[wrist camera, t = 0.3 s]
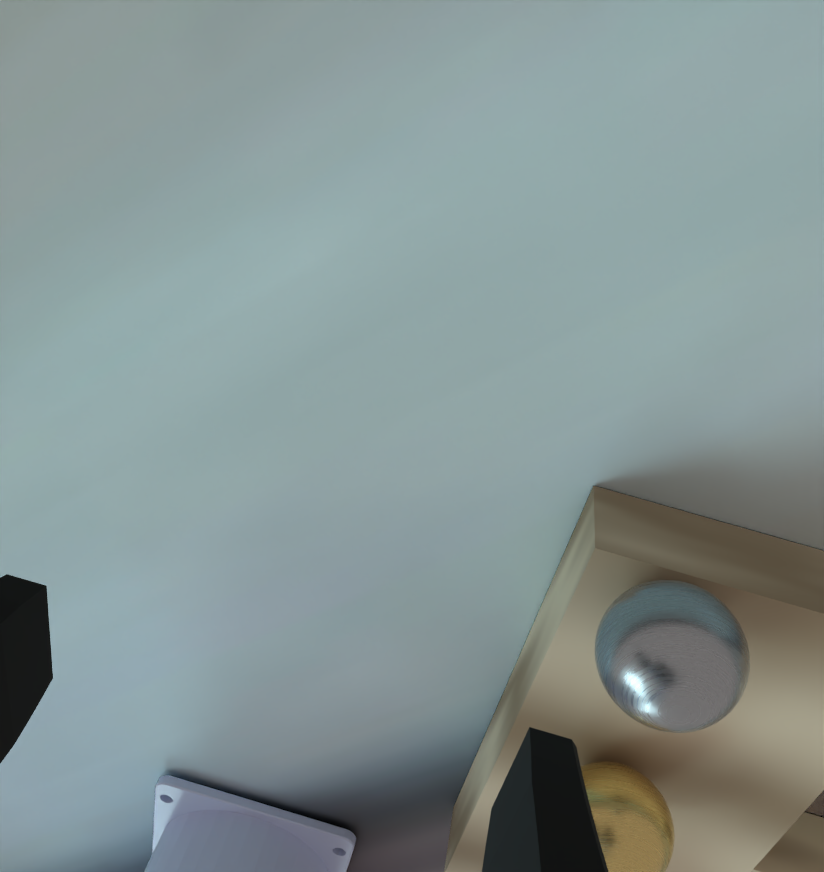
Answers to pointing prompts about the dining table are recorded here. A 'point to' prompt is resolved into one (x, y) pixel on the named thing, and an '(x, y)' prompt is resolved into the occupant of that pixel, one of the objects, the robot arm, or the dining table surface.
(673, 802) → the plate
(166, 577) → the dining table surface
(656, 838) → the ball
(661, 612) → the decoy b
